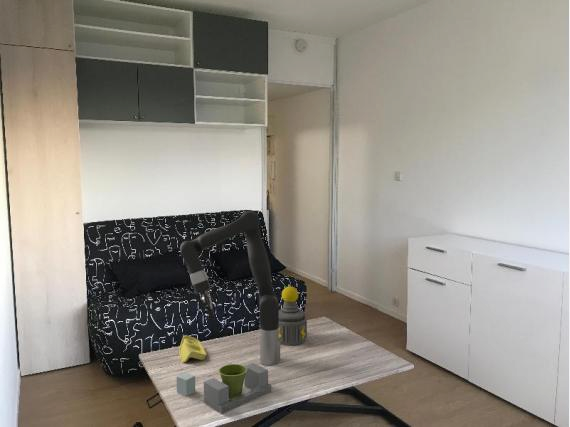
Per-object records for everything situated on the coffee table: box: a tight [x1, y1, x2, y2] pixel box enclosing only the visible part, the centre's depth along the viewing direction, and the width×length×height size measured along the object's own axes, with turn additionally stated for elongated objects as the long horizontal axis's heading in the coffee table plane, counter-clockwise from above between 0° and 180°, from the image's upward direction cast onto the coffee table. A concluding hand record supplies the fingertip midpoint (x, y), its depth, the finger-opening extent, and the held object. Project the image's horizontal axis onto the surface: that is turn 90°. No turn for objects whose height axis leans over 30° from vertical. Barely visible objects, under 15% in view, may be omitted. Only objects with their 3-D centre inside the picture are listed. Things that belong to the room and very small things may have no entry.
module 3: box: [243, 362, 269, 390], centre depth 203 cm, size 5×10×9 cm, turn 44°
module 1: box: [175, 371, 196, 397], centre depth 200 cm, size 5×6×7 cm
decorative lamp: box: [279, 286, 308, 346], centre depth 259 cm, size 19×19×30 cm
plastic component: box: [178, 334, 207, 363], centre depth 240 cm, size 20×7×10 cm
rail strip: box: [218, 383, 272, 415], centre depth 192 cm, size 26×2×3 cm, turn 134°
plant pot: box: [218, 363, 247, 400], centre depth 197 cm, size 12×12×11 cm
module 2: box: [203, 377, 230, 413], centre depth 189 cm, size 5×10×9 cm, turn 44°
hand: (212, 317), depth 217 cm, fingers closed
